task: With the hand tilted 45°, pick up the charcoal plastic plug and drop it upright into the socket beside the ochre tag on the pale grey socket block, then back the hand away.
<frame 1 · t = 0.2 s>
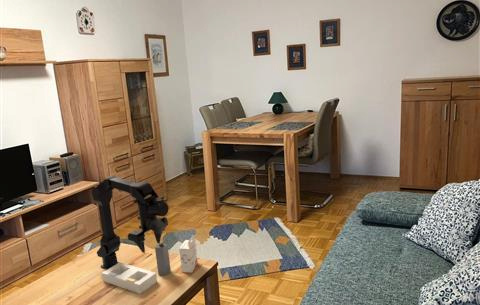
hand: (151, 247, 166), 15 cm above the table, tool pointing down, fingers open, 9 cm apart
plug: (164, 272, 174), on the table
socket block: (130, 281, 168), on the table
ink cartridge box: (189, 268, 176), on the table
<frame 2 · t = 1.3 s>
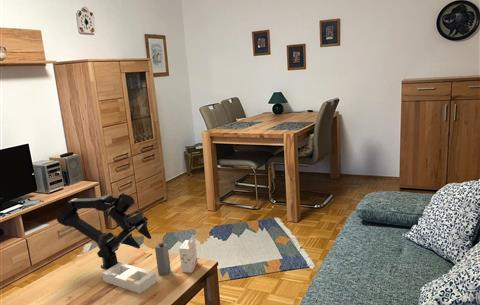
hand: (145, 243, 173), 13 cm above the table, tool tilted 45°, fingers open, 9 cm apart
nothing on the table moved.
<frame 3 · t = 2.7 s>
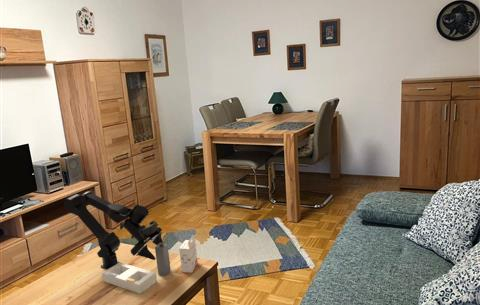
hand: (160, 254, 172), 9 cm above the table, tool tilted 45°, fingers open, 9 cm apart
nothing on the table moved.
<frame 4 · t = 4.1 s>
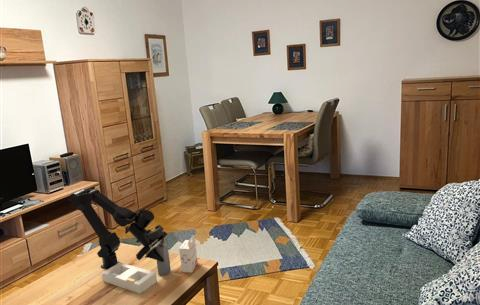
hand: (165, 258, 172), 7 cm above the table, tool tilted 45°, fingers closed on plug, 4 cm apart
plug: (164, 272, 174), on the table, touching gripper
everything else where it was.
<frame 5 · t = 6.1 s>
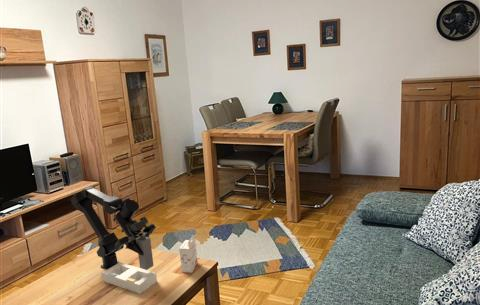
hand: (147, 252, 164), 13 cm above the table, tool tilted 45°, fingers closed on plug, 4 cm apart
plug: (146, 266, 166), point 7 cm above the table, touching gripper
everything else where it was.
when the fingers open (9 cm above the table, at t = 8.3 s): plug drops 2 cm, resting in socket block.
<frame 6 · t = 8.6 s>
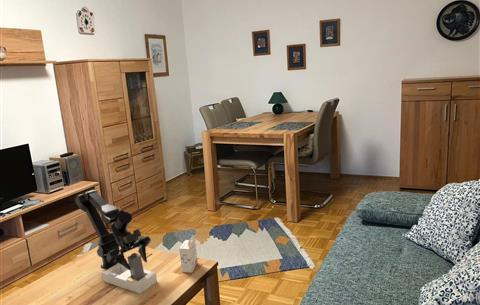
hand: (138, 266, 163), 9 cm above the table, tool tilted 45°, fingers open, 7 cm apart
plug: (139, 283, 166), resting in socket block
everything else where it was.
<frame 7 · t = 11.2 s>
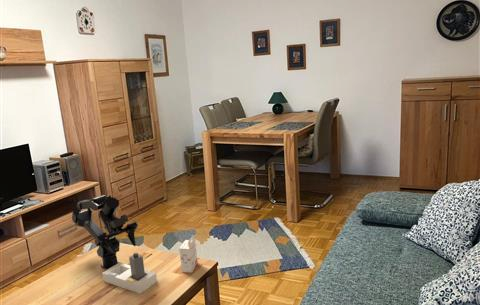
hand: (125, 249, 168), 13 cm above the table, tool tilted 45°, fingers open, 9 cm apart
nothing on the table moved.
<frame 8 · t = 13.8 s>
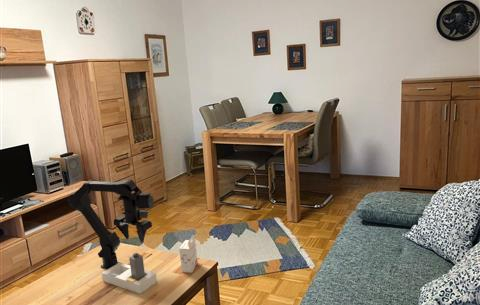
hand: (134, 240, 178), 13 cm above the table, tool pointing down, fingers open, 9 cm apart
nothing on the table moved.
at the end: plug 0.1 cm from the target spot on the socket block, point 0.0 cm above the socket block's base; plug tilted 0°; the gripper is holding nothing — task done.
